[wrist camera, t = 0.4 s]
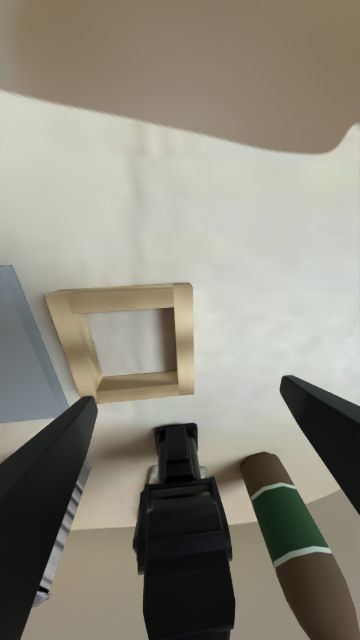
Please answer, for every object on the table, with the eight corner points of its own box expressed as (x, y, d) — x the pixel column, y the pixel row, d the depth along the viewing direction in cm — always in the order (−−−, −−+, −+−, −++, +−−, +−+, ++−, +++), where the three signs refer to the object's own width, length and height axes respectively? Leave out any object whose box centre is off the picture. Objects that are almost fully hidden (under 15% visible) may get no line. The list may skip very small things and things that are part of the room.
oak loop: (191, 380, 23) (194, 394, 20) (91, 389, 22) (83, 405, 20) (189, 282, 18) (192, 287, 15) (60, 289, 17) (44, 295, 15)
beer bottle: (285, 463, 32) (546, 920, 10) (250, 480, 34) (415, 919, 12) (268, 444, 30) (572, 1012, 8) (231, 464, 31) (397, 997, 9)
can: (72, 438, 25) (0, 588, 14) (102, 479, 29) (64, 617, 18) (-3, 455, 25) (-135, 618, 14) (37, 494, 29) (-39, 640, 18)
